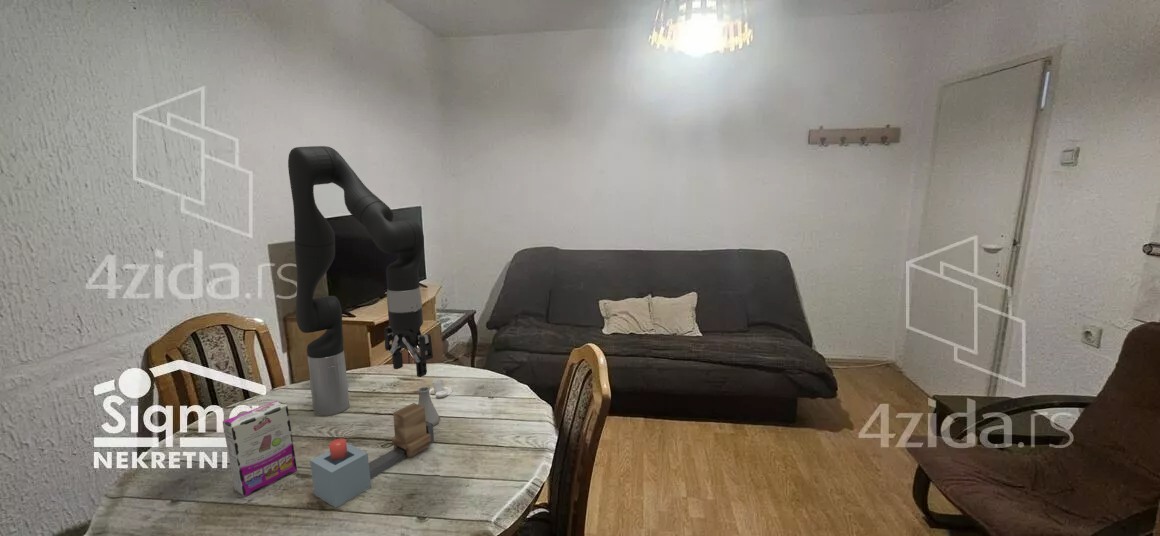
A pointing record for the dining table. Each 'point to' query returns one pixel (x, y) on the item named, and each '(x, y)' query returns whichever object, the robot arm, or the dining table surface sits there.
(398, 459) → the rail
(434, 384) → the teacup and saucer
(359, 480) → the button housing
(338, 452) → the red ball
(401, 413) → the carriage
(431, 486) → the dining table surface
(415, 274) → the robot arm
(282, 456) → the candy bar box
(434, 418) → the flask
